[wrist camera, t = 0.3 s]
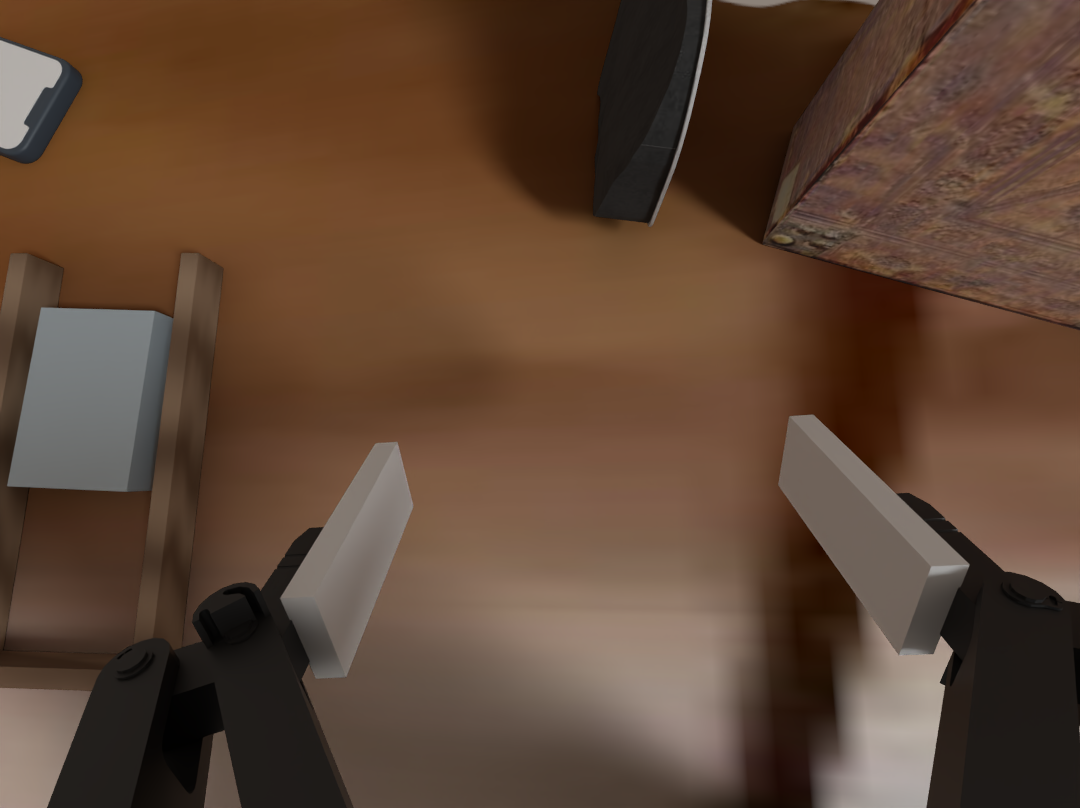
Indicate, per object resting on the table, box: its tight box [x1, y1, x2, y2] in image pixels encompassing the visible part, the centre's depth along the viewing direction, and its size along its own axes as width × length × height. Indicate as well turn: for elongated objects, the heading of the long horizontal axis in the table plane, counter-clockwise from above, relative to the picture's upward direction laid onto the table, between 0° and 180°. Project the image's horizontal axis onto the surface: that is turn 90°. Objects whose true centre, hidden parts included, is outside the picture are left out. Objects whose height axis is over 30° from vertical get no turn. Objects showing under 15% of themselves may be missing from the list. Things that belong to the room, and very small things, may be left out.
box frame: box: [0, 253, 223, 691], centre depth 33 cm, size 28×13×2 cm, turn 179°
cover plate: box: [7, 307, 173, 492], centre depth 34 cm, size 12×8×3 cm, turn 178°
